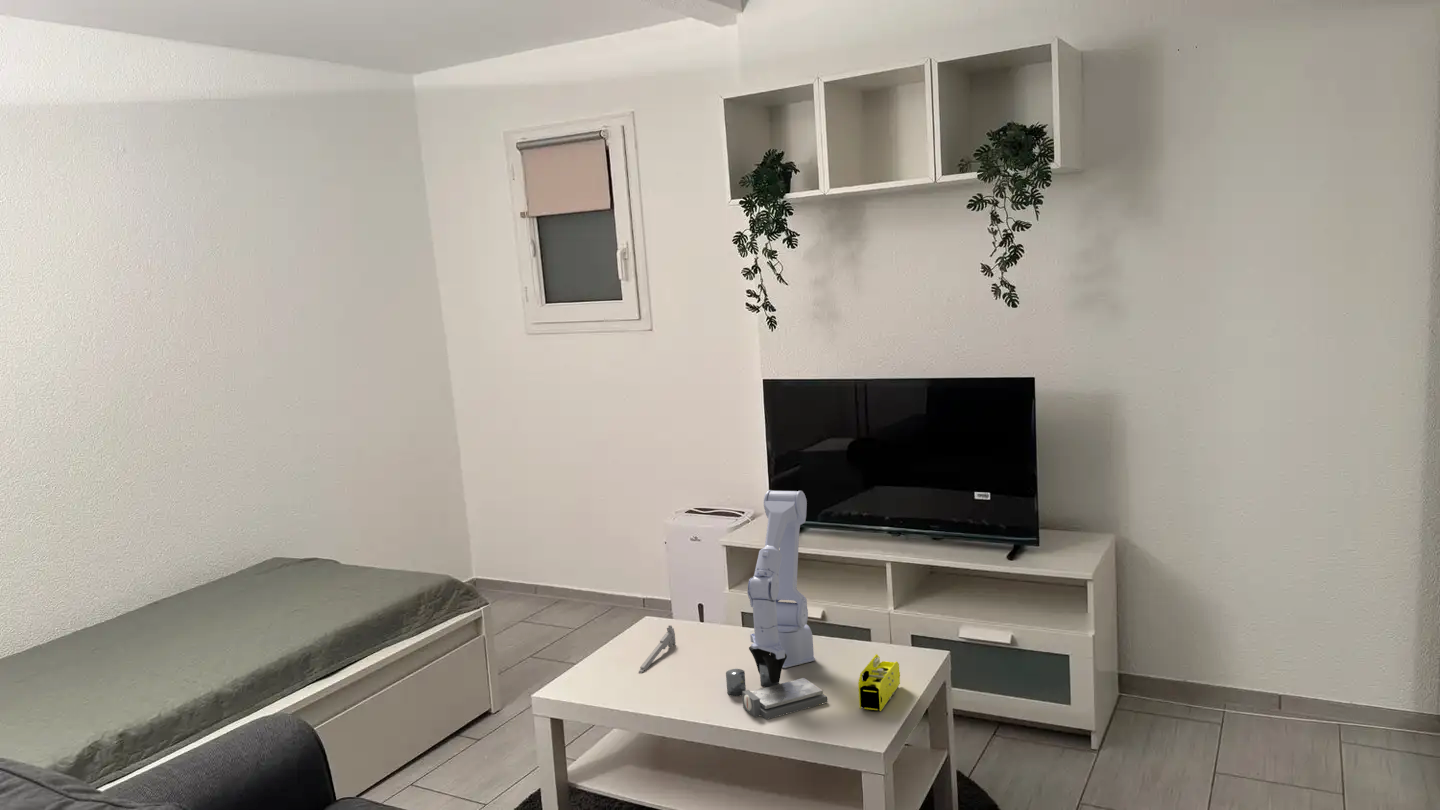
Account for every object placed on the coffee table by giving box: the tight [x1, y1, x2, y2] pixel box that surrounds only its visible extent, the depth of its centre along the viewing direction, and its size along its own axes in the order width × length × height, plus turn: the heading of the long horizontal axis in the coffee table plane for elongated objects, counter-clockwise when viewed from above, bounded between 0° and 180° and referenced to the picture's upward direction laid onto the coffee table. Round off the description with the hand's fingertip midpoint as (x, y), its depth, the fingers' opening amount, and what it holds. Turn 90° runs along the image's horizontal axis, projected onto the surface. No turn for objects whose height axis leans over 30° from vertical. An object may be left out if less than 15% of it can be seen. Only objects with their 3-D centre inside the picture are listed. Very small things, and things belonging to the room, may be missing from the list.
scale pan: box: [750, 677, 824, 709], centre depth 243 cm, size 15×9×1 cm, turn 115°
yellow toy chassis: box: [857, 653, 901, 712], centre depth 241 cm, size 16×6×8 cm, turn 155°
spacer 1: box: [725, 668, 747, 697], centre depth 251 cm, size 4×4×5 cm
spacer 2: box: [759, 661, 780, 688], centre depth 254 cm, size 4×4×5 cm
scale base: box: [741, 689, 828, 720], centre depth 242 cm, size 18×11×4 cm, turn 115°
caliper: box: [638, 624, 677, 674], centre depth 276 cm, size 20×1×6 cm, turn 157°
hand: (769, 678), depth 255 cm, fingers open, 5 cm apart
